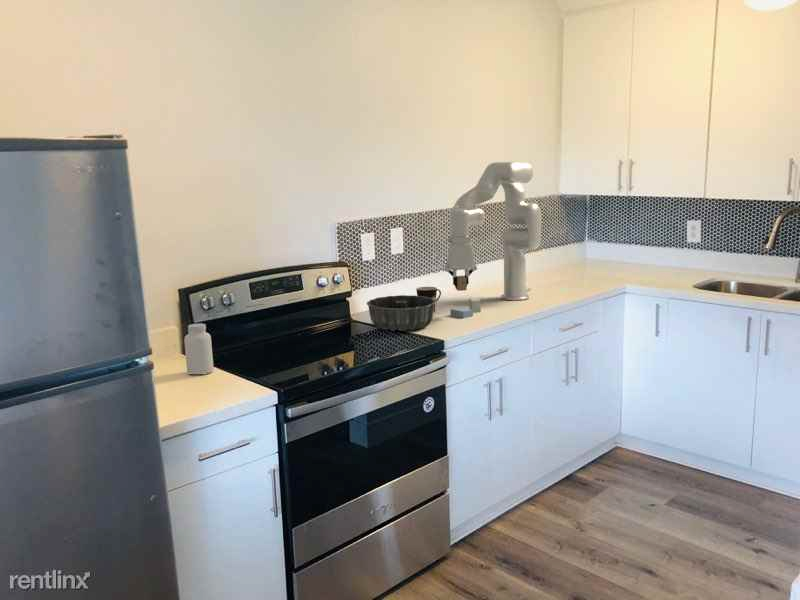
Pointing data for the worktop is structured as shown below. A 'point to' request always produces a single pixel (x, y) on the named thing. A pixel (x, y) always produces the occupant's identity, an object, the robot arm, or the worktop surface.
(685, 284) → the worktop surface
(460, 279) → the walnut block
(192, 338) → the pill bottle
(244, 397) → the worktop surface
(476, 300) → the sage block
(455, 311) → the slate block
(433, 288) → the coffee mug
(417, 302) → the bundt pan
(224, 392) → the worktop surface
